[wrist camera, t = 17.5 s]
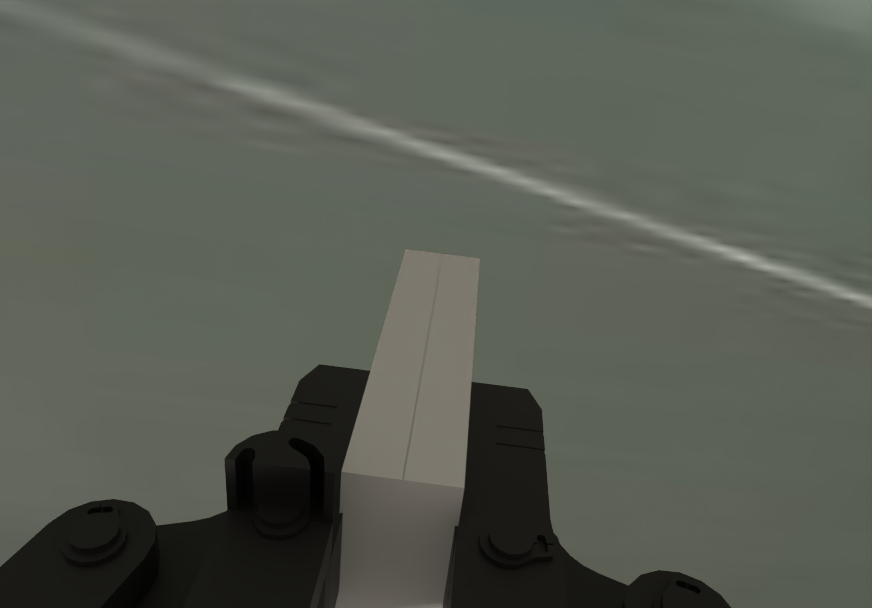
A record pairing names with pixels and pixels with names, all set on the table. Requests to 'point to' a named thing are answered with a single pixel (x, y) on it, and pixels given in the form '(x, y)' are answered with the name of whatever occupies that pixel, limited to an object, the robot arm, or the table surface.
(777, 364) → the table surface
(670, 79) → the table surface
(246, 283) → the table surface
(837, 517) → the table surface
